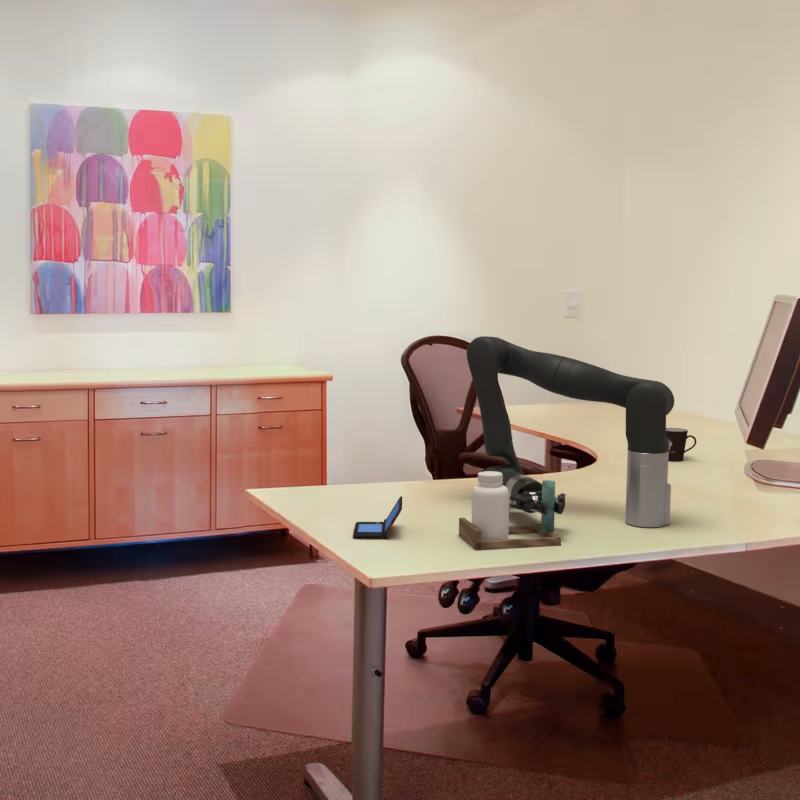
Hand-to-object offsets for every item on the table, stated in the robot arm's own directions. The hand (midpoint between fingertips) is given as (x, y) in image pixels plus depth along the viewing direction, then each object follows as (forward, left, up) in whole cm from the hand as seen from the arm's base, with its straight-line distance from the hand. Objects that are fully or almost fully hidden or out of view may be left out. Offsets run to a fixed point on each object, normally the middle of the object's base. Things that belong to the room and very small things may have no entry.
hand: (553, 509), depth 203 cm
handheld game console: (+35, -15, -7) cm, 39 cm away
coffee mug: (-78, -86, -7) cm, 116 cm away
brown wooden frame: (+9, -3, -7) cm, 12 cm away
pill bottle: (+13, -3, -7) cm, 15 cm away
